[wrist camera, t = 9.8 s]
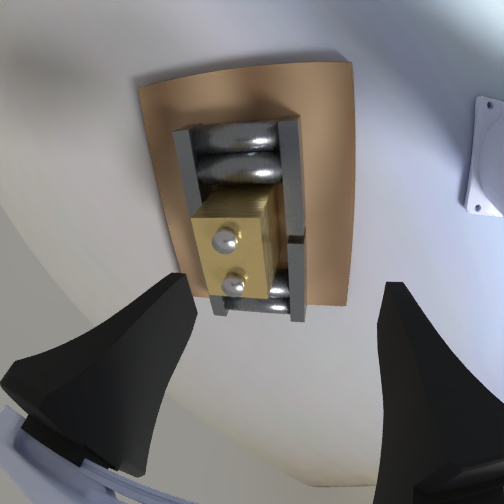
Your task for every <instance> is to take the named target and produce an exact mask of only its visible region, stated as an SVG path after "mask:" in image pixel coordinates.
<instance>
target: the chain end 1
mask: <svg viewBox="0 0 504 504" xmlns="http://www.w3.org/2000/svg"><path fill="white" fill-rule="evenodd" d="M172 133H173V138H174V143H175V149H176V154H177V159H178V164H179V169H180V174H181V178H182V183H183V188H184V193H185V197H186V202H187V207H188V211H189V215H190V220H191V217H192V216H193V215H194V213H195V212H196V211H197V210H198V209H199V207H200V206H201V205H202V204H203V203H204V202H205V200H206V199H207V198H208V197H209V196H210V195H211V193H212V192H213V188H212V185H230V184H268V183H283V190H284V204H285V219H286V235H304V229H305V223H306V204H305V180H304V160H303V144H302V129H301V116H282V118H276V119H259V120H245V121H234V122H223V123H214V124H206V125H202V123H199V124H191V125H186V126H184V127H182V128H180V129H178V130H176V131H173V132H172ZM191 224H192V222H191ZM192 229H193V227H192ZM193 233H194V231H193Z"/></svg>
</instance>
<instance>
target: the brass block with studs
mask: <svg viewBox="0 0 504 504" xmlns="http://www.w3.org/2000/svg"><path fill="white" fill-rule="evenodd" d="M191 222H192V227H193V231H194V235H195V240H196V244H197V248H198V252H199V256H200V260H201V264H202V268H203V273H204V276H205V280H206V284H207V288H208V292H209V295H219V296H230V297H245V298H260V299H268V298H269V294H270V290H271V287H272V283H273V279H274V276H275V272H276V268H277V264H278V260H279V257H280V253H281V239H280V225H279V212H278V200H277V188H276V183H268V184H230V185H218V186H217V188H216V189H215V190H214V191H213V192H212V193H211V195H210V196H209V197H208V198H207V199H206V200H205V202H204V203H203V204H202V205H201V206H200V207H199V209H198V210H197V211H196V212H195V213H194V215H193V216H192V217H191Z"/></svg>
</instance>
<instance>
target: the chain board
mask: <svg viewBox="0 0 504 504" xmlns="http://www.w3.org/2000/svg"><path fill="white" fill-rule="evenodd" d="M138 92H139V98H140V103H141V109H142V114H143V119H144V124H145V129H146V134H147V139H148V144H149V149H150V153H151V158H152V162H153V167H154V171H155V175H156V180H157V184H158V188H159V192H160V196H161V200H162V204H163V208H164V212H165V216H166V220H167V224H168V227H169V231H170V235H171V238H172V242H173V246H174V249H175V253H176V256H177V260H178V263H179V267H180V270H181V273H186V276H187V279H188V282H189V286H190V289H191V293H192V296H195V297H206V298H209V294H208V290H207V286H206V282H205V278H204V274H203V270H202V266H201V262H200V258H199V254H198V250H197V246H196V240H195V235H194V233H193V229H192V224H191V220H190V215H189V211H188V207H187V202H186V197H185V193H184V188H183V183H182V178H181V174H180V169H179V164H178V159H177V154H176V149H175V143H174V138H173V133H172V132H173V131H176V130H178V129H180V128H182V127H184V126H186V125H191V124H199V123H202V125H206V124H214V123H223V122H234V121H245V120H259V119H276V118H282V116H301V129H302V144H303V160H304V180H305V204H306V223H305V228H306V240H307V304H308V305H331V306H346V302H347V293H348V284H349V274H350V264H351V252H352V238H353V222H354V201H355V105H354V85H353V70H352V62H304V63H284V64H271V65H260V66H250V67H242V68H234V69H227V70H220V71H214V72H208V73H202V74H197V75H191V76H186V77H182V78H177V79H172V80H168V81H164V82H160V83H156V84H152V85H148V86H144V87H140V88H138ZM217 186H218V185H212V188H213V191H214V190H215V189H216V188H217ZM276 188H277V200H278V212H279V225H280V239H281V253H280V257H279V260H278V264H277V268H276V269H288V252H287V242H288V238H289V235H286V219H285V204H284V190H283V183H276Z"/></svg>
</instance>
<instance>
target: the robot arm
mask: <svg viewBox="0 0 504 504" xmlns="http://www.w3.org/2000/svg"><path fill="white" fill-rule="evenodd" d="M488 102H490V104H491V106H490V108H489V109H488V107H487V103H488ZM476 205H479V206H478V208H477V209H475V206H476ZM464 208H465V210H466V211H467V212H468V213H469V214H476V215H487V216H498V217H504V101H500V100H496V99H492V98H488V97H484V96H478V97H477V98H476V101H475V124H474V138H473V149H472V158H471V167H470V174H469V181H468V187H467V193H466V199H465V204H464ZM197 314H198V312H197V309H196V306H195V302H194V299H193V296H192V293H191V289H190V286H189V282H188V279H187V276H186V273H170V274H169V275H167V276H166V277H165V278H163V279H162V280H160V281H159V282H158V283H156V284H155V285H154V286H152V287H151V288H150V289H149V290H147V291H146V292H145V293H143V294H142V295H141V296H139V297H138V298H137V299H135V300H134V301H133V302H132V303H130V304H129V305H127V306H126V307H125V308H123V309H122V310H120V311H119V312H118V313H116V314H115V315H113V316H112V317H111V318H109V319H108V320H106V321H105V322H103V323H101V324H100V325H98V326H97V327H95V328H93V329H92V330H90V331H88V332H86V333H85V334H83V335H81V336H79V337H77V338H75V339H73V340H71V341H69V342H67V343H65V344H63V345H60V346H58V347H56V348H53V349H51V350H48V351H46V352H43V353H41V354H37V355H35V356H31V357H27V358H24V359H21V360H17V361H15V362H14V363H13V364H12V366H11V367H10V368H9V370H8V371H7V373H6V374H5V375H4V377H3V379H2V380H1V381H0V385H1V387H2V389H3V390H4V391H5V392H6V393H7V394H8V395H9V396H10V397H11V398H12V399H13V400H14V401H15V402H16V403H17V404H18V405H19V406H20V407H21V408H22V409H23V410H24V411H25V412H26V413H27V414H29V415H28V416H27V418H26V419H25V418H24V417H23V416H21V415H20V414H19V413H17V412H16V411H14V410H13V409H12V408H11V407H10V406H8V405H5V407H4V409H3V411H2V412H1V413H0V466H1V468H2V469H3V470H4V471H5V472H6V473H7V475H8V476H9V477H10V478H11V480H12V481H13V482H14V483H15V484H16V485H17V487H18V488H19V489H20V490H21V491H22V492H23V493H24V494H25V496H26V497H27V498H28V499H29V500H30V501H31V502H32V503H33V504H127V503H124V502H122V501H120V500H118V499H117V498H116V496H115V493H114V491H116V492H118V493H120V494H122V495H124V496H126V497H128V498H131V499H133V500H135V501H138V502H140V503H142V504H198V503H195V502H191V501H188V500H185V499H181V498H178V497H175V496H172V495H169V494H166V493H163V492H160V491H158V490H155V489H152V488H150V487H147V486H144V485H141V484H139V483H137V482H134V481H132V480H129V479H127V478H125V477H123V476H120V475H118V474H116V473H114V472H112V471H109V470H108V468H111V469H113V470H115V471H118V470H120V471H123V472H125V473H127V474H130V475H132V476H135V477H141V476H143V475H145V472H146V465H147V459H148V453H149V448H150V443H151V439H152V434H153V430H154V426H155V423H156V419H157V415H158V412H159V409H160V405H161V402H162V399H163V396H164V393H165V390H166V388H167V385H168V383H169V380H170V378H171V376H172V374H173V372H174V370H175V368H176V366H177V364H178V361H179V359H180V357H181V355H182V353H183V351H184V349H185V347H186V345H187V342H188V340H189V338H190V336H191V333H192V330H193V327H194V324H195V320H196V317H197ZM377 343H378V357H379V365H380V374H381V383H382V394H383V409H384V417H383V436H382V448H381V458H380V466H379V473H378V479H377V485H376V490H375V496H374V500H373V504H504V403H503V402H501V401H500V400H499V399H498V398H497V397H496V396H494V395H493V394H492V393H491V392H490V391H489V390H488V389H487V388H486V387H485V386H484V385H483V384H482V383H481V382H480V381H479V380H478V379H477V378H476V377H475V376H474V375H473V374H472V373H471V372H470V371H469V370H468V369H467V368H466V367H465V366H464V364H463V363H462V362H461V361H460V360H459V359H458V358H457V357H456V355H455V354H454V353H453V352H452V351H451V349H450V348H449V347H448V345H447V344H446V343H445V342H444V340H443V339H442V338H441V336H440V335H439V334H438V332H437V331H436V330H435V328H434V327H433V325H432V324H431V322H430V321H429V320H428V318H427V317H426V315H425V314H424V312H423V311H422V309H421V308H420V306H419V305H418V304H417V302H416V301H415V299H414V298H413V296H412V295H411V293H410V292H409V290H408V289H407V287H406V286H405V284H404V283H403V282H386V285H385V290H384V295H383V300H382V305H381V309H380V314H379V318H378V322H377Z"/></svg>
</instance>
